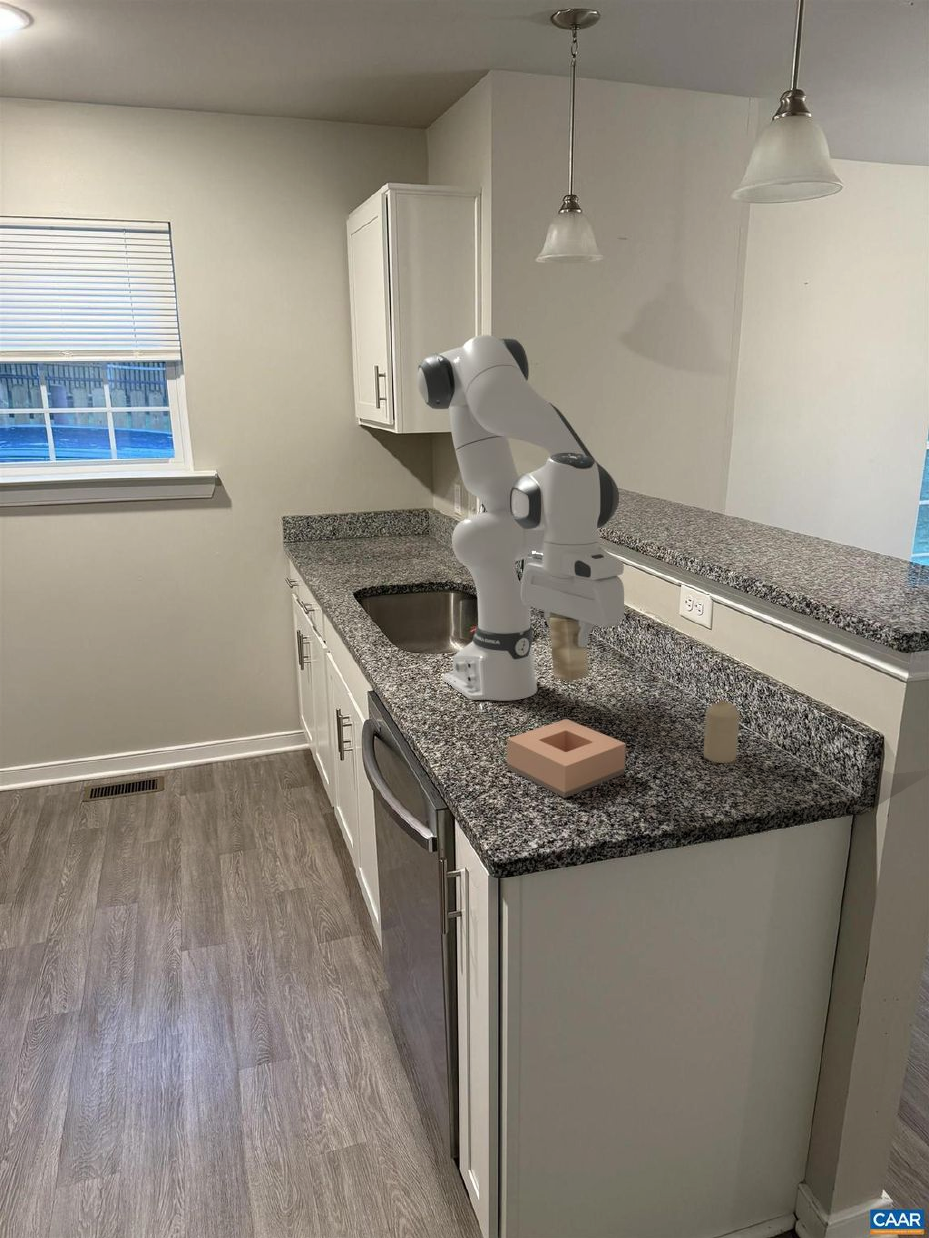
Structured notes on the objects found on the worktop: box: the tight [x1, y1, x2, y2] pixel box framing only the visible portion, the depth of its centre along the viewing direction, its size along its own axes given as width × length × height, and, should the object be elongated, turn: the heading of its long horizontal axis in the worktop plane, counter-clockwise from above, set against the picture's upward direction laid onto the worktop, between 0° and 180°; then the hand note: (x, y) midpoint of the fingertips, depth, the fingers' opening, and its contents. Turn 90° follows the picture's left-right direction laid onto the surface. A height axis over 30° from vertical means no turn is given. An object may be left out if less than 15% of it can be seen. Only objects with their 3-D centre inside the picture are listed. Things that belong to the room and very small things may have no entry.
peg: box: [549, 615, 590, 682], centre depth 137 cm, size 4×4×10 cm
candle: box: [703, 700, 741, 764], centre depth 146 cm, size 6×6×10 cm
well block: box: [506, 718, 627, 799], centre depth 142 cm, size 14×14×6 cm
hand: (568, 641), depth 137 cm, fingers closed on peg, 4 cm apart
